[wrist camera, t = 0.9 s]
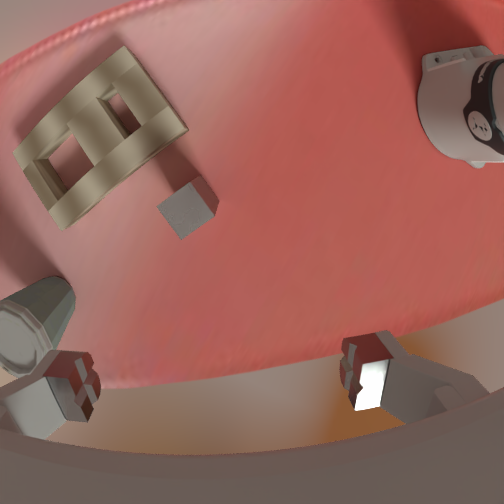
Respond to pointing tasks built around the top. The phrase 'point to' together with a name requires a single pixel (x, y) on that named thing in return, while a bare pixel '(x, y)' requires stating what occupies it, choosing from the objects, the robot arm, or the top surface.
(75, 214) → the tan flat slatted block
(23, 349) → the disposable coffee cup
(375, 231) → the top surface
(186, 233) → the square bit
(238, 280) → the top surface
